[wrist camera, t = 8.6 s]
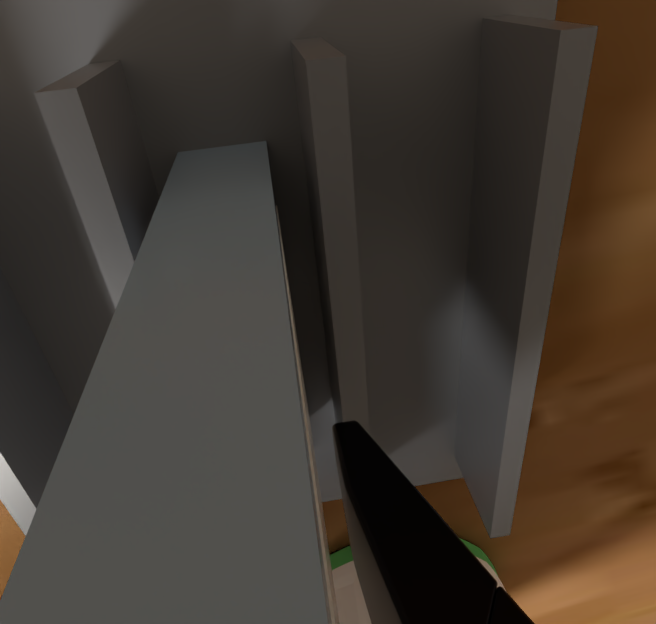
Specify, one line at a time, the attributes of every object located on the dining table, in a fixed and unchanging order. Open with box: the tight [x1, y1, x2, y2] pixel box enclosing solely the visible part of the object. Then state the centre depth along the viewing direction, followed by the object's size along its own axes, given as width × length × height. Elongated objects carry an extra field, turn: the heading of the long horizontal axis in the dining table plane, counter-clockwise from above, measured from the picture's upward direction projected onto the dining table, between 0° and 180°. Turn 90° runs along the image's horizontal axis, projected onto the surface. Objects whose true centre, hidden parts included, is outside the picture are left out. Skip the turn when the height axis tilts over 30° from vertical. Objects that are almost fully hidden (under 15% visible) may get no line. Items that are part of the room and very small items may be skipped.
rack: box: [0, 0, 598, 538], centre depth 11 cm, size 13×12×4 cm
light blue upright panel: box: [0, 141, 340, 624], centre depth 8 cm, size 7×2×9 cm, turn 5°
